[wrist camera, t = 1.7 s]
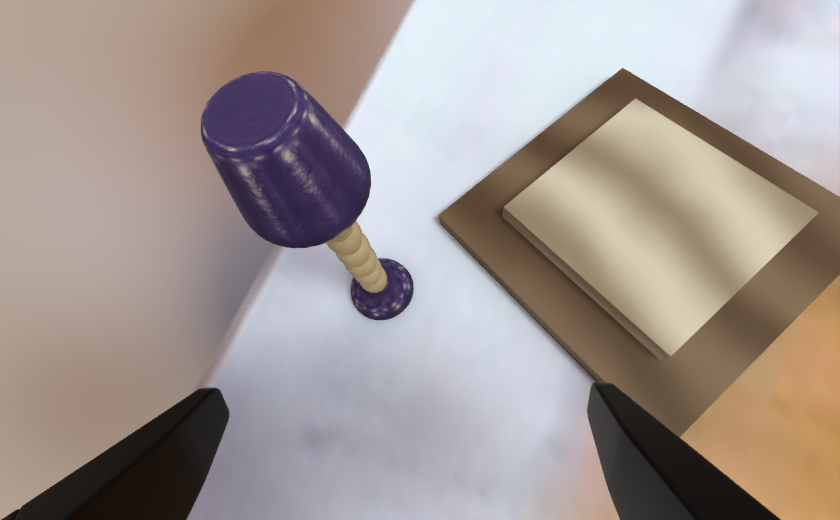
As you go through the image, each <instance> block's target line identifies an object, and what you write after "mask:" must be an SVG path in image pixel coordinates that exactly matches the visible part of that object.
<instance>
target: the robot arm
mask: <svg viewBox="0 0 840 520" xmlns="http://www.w3.org/2000/svg"><path fill="white" fill-rule="evenodd" d="M587 413H588V419H589V423H590V427H591V430H592V434H593V437H594V441H595V444H596V448H597V452H598V455H599V459H600V462H601V466H602V469H603V473H604V477H605V480H606V483H607V487H608V490H609V492H610V495H611V498H612V500H613V503H614V506H615V508H616V511H617V513H618V516H619V518H620V520H781V519H779V518H778V517H777V516H776V515H774V514H773V513H772V512H771V511H770V510H768V509H767V508H766V507H765V506H763V505H762V504H761V503H760V502H758V501H757V500H756V499H755V498H753V497H752V496H751V495H750V494H749V493H747V492H746V491H745V490H744V489H742V488H741V487H740V486H739V485H737V484H736V483H735V482H734V481H733V480H731V479H730V478H729V477H728V476H726V475H725V474H724V473H723V472H721V471H720V470H719V469H718V468H717V467H715V466H714V465H713V464H712V463H710V462H709V461H708V460H707V459H705V458H704V457H703V456H702V455H701V454H699V453H698V452H697V451H696V450H694V449H693V448H692V447H691V446H689V445H688V444H687V443H686V442H684V441H683V440H682V439H681V438H680V437H678V436H677V435H676V434H675V433H673V432H672V431H671V430H670V429H668V428H667V427H666V426H665V425H664V424H662V423H661V422H660V421H659V420H657V419H656V418H655V417H654V416H652V415H651V414H650V413H649V412H648V411H646V410H645V409H644V408H643V407H641V406H640V405H639V404H638V403H636V402H635V401H634V400H633V399H632V398H630V397H629V396H628V395H627V394H625V393H624V392H623V391H622V390H620V389H619V388H618V387H617V386H615V385H614V384H612V383H609V382H603V383H593V384H592V386H591V389H590V395H589V401H588V407H587ZM228 420H229V409H228V407H227V405H226V402H225V400H224V398H223V395H222V393H221V391H220V390H219V389H218V388H201V389H198V390H197V391H195V392H194V393H192V394H191V395H189V396H188V397H186V398H185V399H183V400H182V401H180V402H179V403H177V404H176V405H174V406H173V407H171V408H170V409H168V410H167V411H165V412H164V413H162V414H161V415H159V416H158V417H156V418H155V419H153V420H152V421H150V422H148V423H147V424H146V425H144V426H142V427H141V428H139V429H138V430H136V431H135V432H133V433H132V434H130V435H129V436H127V437H126V438H124V439H123V440H121V441H120V442H118V443H117V444H115V445H114V446H112V447H111V448H109V449H108V450H106V451H105V452H103V453H102V454H100V455H99V456H97V457H96V458H94V459H93V460H91V461H90V462H88V463H87V464H85V465H83V466H82V467H81V468H79V469H77V470H76V471H74V472H73V473H71V474H70V475H68V476H67V477H65V478H64V479H62V480H61V481H59V482H58V483H56V484H55V485H53V486H52V487H50V488H49V489H47V490H46V491H44V492H43V493H41V494H40V495H38V496H37V497H35V498H34V499H32V500H31V501H29V502H28V503H26V504H25V505H23V506H22V507H21V509H17V510H15V511H14V512H12V513H11V514H9V515H8V516H7V517H5V518H3V519H2V520H187V518H188V516H189V514H190V511H191V509H192V507H193V505H194V503H195V501H196V499H197V497H198V495H199V493H200V491H201V489H202V487H203V484H204V482H205V480H206V477H207V475H208V473H209V470H210V467H211V465H212V462H213V459H214V457H215V454H216V452H217V449H218V446H219V444H220V441H221V439H222V436H223V433H224V431H225V428H226V426H227V423H228Z"/></svg>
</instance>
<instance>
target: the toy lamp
mask: <svg viewBox="0 0 840 520" xmlns="http://www.w3.org/2000/svg"><path fill="white" fill-rule="evenodd" d="M201 135H202V140H203V142H204V145H205V147H206V149H207V151H208V153H209V156H210V158H211V159H212V161H213V163H214V165H215V167H216V169H217V171H218V172H219V174H220V176H221V178H222V180H223V182H224V184H225V186H226V187H227V189H228V191H229V193H230V194H231V196H232V198H233V200H234V202H235V203H236V205H237V207H238V209H239V210H240V212H241V214H242V216H243V217H244V219H245V221H246V222H247V223H248V224H249V226H250V227H251V228H252V229H253V230H254V231H255V232H256V233H257V234H258V235H259V236H261V237H262V238H263V239H265V240H267V241H269V242H271V243H273V244H276V245H279V246H284V247H290V248H307V247H310V246H317V245H320V244H323V243H326V244H327V245H328V246H329V248H330V249H332V250H333V251H334V252H335V253H336V255H337V257H338V258H339V260H340V261H341V262H343V263H344V265H345V267H346V268H347V270H348V271H349V272H350V273H351V274H353V276H354V278H353V280H352V284H351V296H352V300H353V303H354V305H355V306H356V308H357V309H358V311H360V312H361V313H362V314H363V315H364V316H366V317H368V318H370V319H375V320H386V319H390V318H393V317H395V316H397V315H398V314H400V313H401V312H402V311H403V310H404V309H405V308H406V307H407V306H408V305H409V303H410V301H411V299H412V295H413V280H412V278H411V275H410V273H409V272H408V270H407V269H406V268H405V267H404V266H402V265H401V264H399V263H398V262H396V261H394V260H391V259H385V258H380V259H377V257H376V254H375V252H374V250H373V249H372V247H370V243H369V241H368V239H367V237H366V236H365V235H364V234H363V233H362V231H361V228H360V226H359V224H358V223H357V222H356V220H357V218H358V216H359V215H360V214H361V212H362V211H363V209H364V207H365V206H366V203H367V200H368V198H369V194H370V188H371V174H370V169H369V165H368V162H367V160H366V158H365V156H364V154H363V153H362V151H361V150H360V148H359V147H358V145H357V144H356V143H355V142H354V141H353V140H352V139H351V138H350V136H349V135H348V134H347V133H346V132H345V131H344V130H343V129H342V128H341V127H340V125H339V124H338V123H337V122H336V121H335V120H334V119H333V118H332V117H331V116H330V115H329V114H328V113H327V112H326V111H325V109H324V108H323V107H322V106H321V105H320V104H319V103H318V102H317V101H316V100H315V99H314V98H313V97H312V96H311V94H310V93H309V92H308V91H307V90H306V89H305V88H303V87H302V86H301V85H300V84H299V83H298V82H296V81H294V80H293V79H291V78H290V77H288V76H285V75H282V74H280V73H274V72H256V73H250V74H247V75H242V76H240V77H237V78H235V79H233V80H231V81H229V82H228V83H227V84H225V85H224V86H222V87H221V88H220V89H219V90H218V91H217V92H216V93H215V94H214V95H213V96H212V97H211V99H210V100H209V101H208V103H207V105H206V107H205V109H204V112H203V114H202V119H201Z"/></svg>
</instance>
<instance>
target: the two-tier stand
mask: <svg viewBox="0 0 840 520" xmlns="http://www.w3.org/2000/svg"><path fill="white" fill-rule="evenodd" d="M439 219H440V223H441V224H442V225H443V226H444V227H445V228H446V229H447V230H448V232H449V233H450V234H451V235H452V236H453V237H454V238H455V239H456V240H457V241H458V242H459V243H460V244H461V245H462V246H463V247H464V248H465V249H466V250H467V251H468V252H469V253H470V254H471V255H472V256H473V257H474V258H475V259H476V260H477V261H478V262H479V263H480V264H481V265H482V266H483V267H484V268H485V269H486V270H487V271H488V272H489V273H490V274H491V275H492V276H493V277H494V278H495V279H496V280H497V281H498V282H499V283H500V284H501V285H502V286H503V287H504V288H505V289H506V290H507V291H508V292H509V293H510V294H511V295H512V296H513V297H514V298H515V299H516V300H517V301H518V302H519V303H520V304H521V305H522V306H523V307H524V308H525V309H526V310H527V311H528V312H529V313H530V314H531V315H532V316H533V317H534V318H535V319H536V320H537V321H538V322H539V323H540V324H541V325H542V326H543V327H544V329H545V330H546V331H547V332H548V333H549V334H550V335H551V336H552V337H553V338H554V339H555V340H556V341H557V342H558V343H559V344H560V345H561V346H562V347H563V348H564V349H565V350H566V351H567V352H568V353H569V354H570V355H571V356H572V357H573V358H574V359H575V360H576V361H577V362H578V363H579V364H580V365H581V366H582V367H583V368H584V369H585V370H586V371H587V372H588V373H589V374H590V375H591V376H592V377H593V378H594V379H595V380H596V381H597V382H598V383H603V382H609V383H612V384H614V385H615V386H617V387H618V388H619V389H620V390H622V391H623V392H624V393H625V394H627V395H628V396H629V397H630V398H632V399H633V400H634V401H635V402H636V403H638V404H639V405H640V406H641V407H643V408H644V409H645V410H646V411H648V412H649V413H650V414H651V415H652V416H654V417H655V418H656V419H657V420H659V421H660V422H661V423H662V424H664V425H665V426H666V427H667V428H668V429H670V430H671V431H672V432H673V433H675V434H676V435H677V436H678V437H680V436H681V435H682V434H683V433H684V432H685V431H686V430H687V429H688V428H689V427H690V426H691V425H692V424H693V423H694V422H695V421H696V420H697V419H698V418H699V417H700V416H701V415H702V414H703V413H704V412H705V411H706V410H707V409H708V408H709V407H710V406H711V405H712V404H713V403H714V401H715V400H716V399H717V398H718V397H719V396H720V395H721V394H722V393H723V392H724V391H725V390H726V389H727V388H728V387H729V386H730V385H731V384H732V383H733V382H734V381H735V380H736V379H737V378H738V377H739V376H740V375H741V374H742V373H743V372H744V371H745V370H746V369H747V368H748V367H749V366H750V365H751V364H752V363H753V362H754V361H755V360H756V359H757V358H758V357H759V356H760V355H761V354H762V353H763V352H764V351H765V350H766V349H767V348H768V347H769V346H770V344H771V343H772V342H773V341H774V340H775V339H776V338H777V337H778V336H779V335H780V334H781V333H782V332H783V331H784V330H785V329H786V328H787V327H788V326H789V325H790V324H791V323H792V322H793V321H794V320H795V319H796V318H797V317H798V316H799V315H800V314H801V313H802V312H803V311H804V310H805V309H806V308H807V307H808V306H809V305H810V304H811V303H812V302H813V301H814V300H815V299H816V298H817V297H818V296H819V295H820V294H821V293H822V292H823V291H824V290H825V289H826V288H827V286H828V285H829V284H830V283H831V282H832V281H833V280H834V279H835V278H836V277H837V276H838V275H839V274H840V197H839V196H837V195H835V194H834V193H832V192H830V191H829V190H827V189H825V188H824V187H822V186H820V185H819V184H817V183H815V182H814V181H812V180H810V179H809V178H807V177H805V176H804V175H802V174H800V173H798V172H797V171H795V170H793V169H792V168H790V167H788V166H787V165H785V164H783V163H782V162H780V161H778V160H777V159H775V158H773V157H772V156H770V155H768V154H767V153H765V152H763V151H761V150H760V149H758V148H756V147H755V146H753V145H751V144H750V143H748V142H746V141H745V140H743V139H741V138H740V137H738V136H736V135H735V134H733V133H731V132H730V131H728V130H726V129H724V128H723V127H721V126H719V125H718V124H716V123H714V122H713V121H711V120H709V119H708V118H706V117H704V116H703V115H701V114H699V113H698V112H696V111H694V110H693V109H691V108H689V107H687V106H686V105H684V104H682V103H681V102H679V101H677V100H676V99H674V98H672V97H671V96H669V95H667V94H666V93H664V92H662V91H661V90H659V89H657V88H656V87H654V86H652V85H650V84H649V83H647V82H645V81H644V80H642V79H640V78H639V77H637V76H635V75H634V74H632V73H630V72H629V71H627V70H625V69H624V68H622V69H621V70H619V71H618V72H617V73H616V74H614V75H613V76H612V77H611V78H609V79H608V80H607V81H606V82H604V83H603V84H602V85H601V86H599V87H598V88H597V89H596V90H594V91H593V92H592V93H591V94H589V95H588V96H587V97H586V98H584V99H583V100H582V101H581V102H579V103H578V104H577V105H576V106H574V107H573V108H572V109H571V110H569V111H568V112H567V113H566V114H564V115H563V116H562V117H561V118H560V119H558V120H557V121H556V122H555V123H553V124H552V125H551V126H550V127H548V128H547V129H546V130H545V131H543V132H542V133H541V134H540V135H538V136H537V137H536V138H535V139H533V140H532V141H531V142H530V143H528V144H527V145H526V146H525V147H523V148H522V149H521V150H520V151H518V152H517V153H516V154H515V155H513V156H512V157H511V158H510V159H508V160H507V161H506V162H505V163H503V164H502V165H501V166H500V167H498V168H497V169H496V170H495V171H493V172H492V173H491V174H490V175H488V176H487V177H486V178H485V179H483V180H482V181H481V182H480V183H478V184H477V185H476V186H475V187H473V188H472V189H471V190H470V191H468V192H467V193H466V194H465V195H463V196H462V197H461V198H460V199H458V200H457V201H456V202H455V203H453V204H452V205H451V206H450V207H448V208H447V209H446V210H445V211H443V212H442V213H441V214H440V215H439Z"/></svg>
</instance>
